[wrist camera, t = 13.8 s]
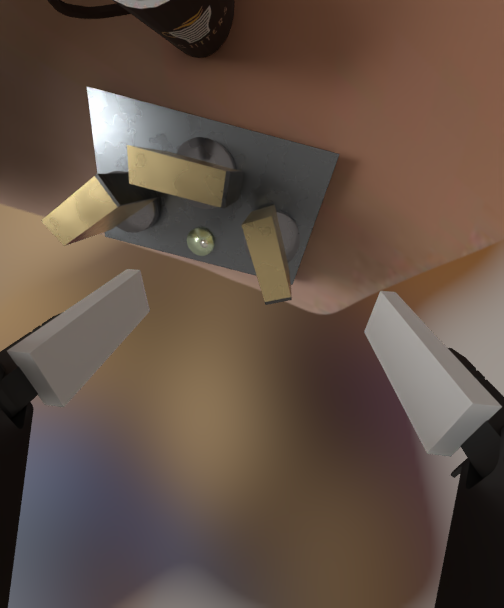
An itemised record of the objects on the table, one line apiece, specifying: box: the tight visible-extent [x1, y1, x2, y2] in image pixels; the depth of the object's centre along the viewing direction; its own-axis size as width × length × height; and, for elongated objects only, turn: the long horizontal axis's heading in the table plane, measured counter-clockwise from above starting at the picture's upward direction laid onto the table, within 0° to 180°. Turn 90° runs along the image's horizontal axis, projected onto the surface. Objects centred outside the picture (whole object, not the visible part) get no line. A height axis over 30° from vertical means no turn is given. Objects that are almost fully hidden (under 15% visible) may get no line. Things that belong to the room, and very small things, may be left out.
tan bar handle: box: [242, 205, 300, 305], centre depth 22 cm, size 7×6×8 cm
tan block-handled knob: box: [42, 171, 160, 246], centre depth 22 cm, size 7×6×8 cm
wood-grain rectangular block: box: [127, 137, 244, 209], centre depth 20 cm, size 7×6×8 cm
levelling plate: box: [87, 87, 339, 285], centre depth 25 cm, size 24×14×3 cm, turn 77°
